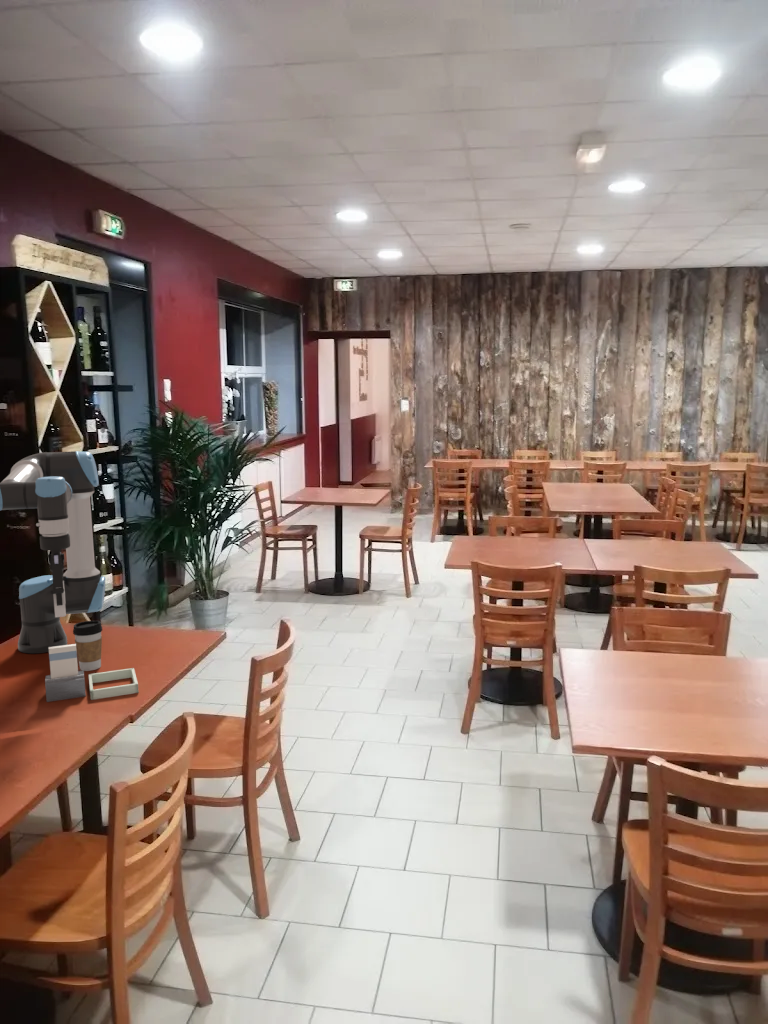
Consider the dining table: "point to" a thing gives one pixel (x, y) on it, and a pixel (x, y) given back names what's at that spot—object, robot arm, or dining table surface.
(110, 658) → the dining table surface
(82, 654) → the coffee cup
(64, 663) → the white striped flat box
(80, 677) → the dispenser
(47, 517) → the robot arm
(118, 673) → the tray
